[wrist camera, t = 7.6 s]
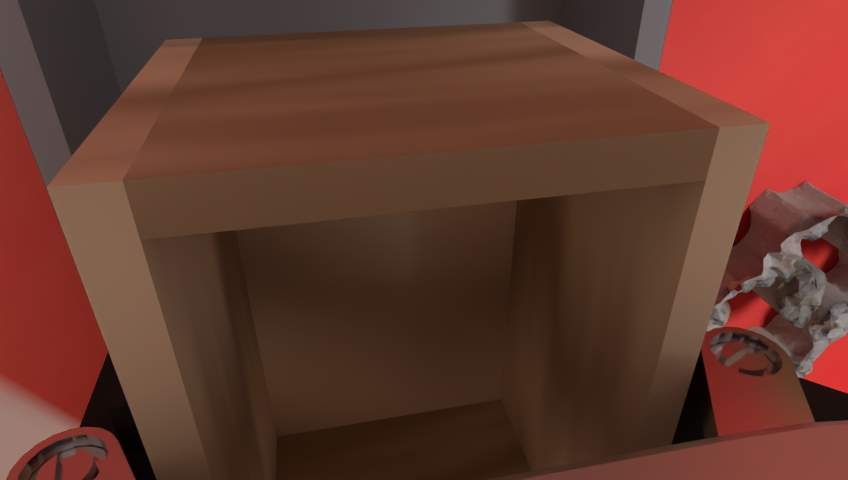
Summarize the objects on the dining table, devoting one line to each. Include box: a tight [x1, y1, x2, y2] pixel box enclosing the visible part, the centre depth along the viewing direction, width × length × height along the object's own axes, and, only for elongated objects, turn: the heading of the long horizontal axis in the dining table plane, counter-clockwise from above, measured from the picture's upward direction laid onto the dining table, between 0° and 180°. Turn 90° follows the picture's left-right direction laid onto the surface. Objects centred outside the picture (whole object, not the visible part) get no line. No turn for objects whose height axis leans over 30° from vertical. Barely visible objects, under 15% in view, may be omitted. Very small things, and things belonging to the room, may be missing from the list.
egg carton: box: [706, 182, 848, 378], centre depth 24 cm, size 11×8×4 cm
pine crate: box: [47, 21, 770, 480], centre depth 11 cm, size 10×7×6 cm
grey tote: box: [0, 0, 673, 302], centre depth 16 cm, size 18×14×5 cm
